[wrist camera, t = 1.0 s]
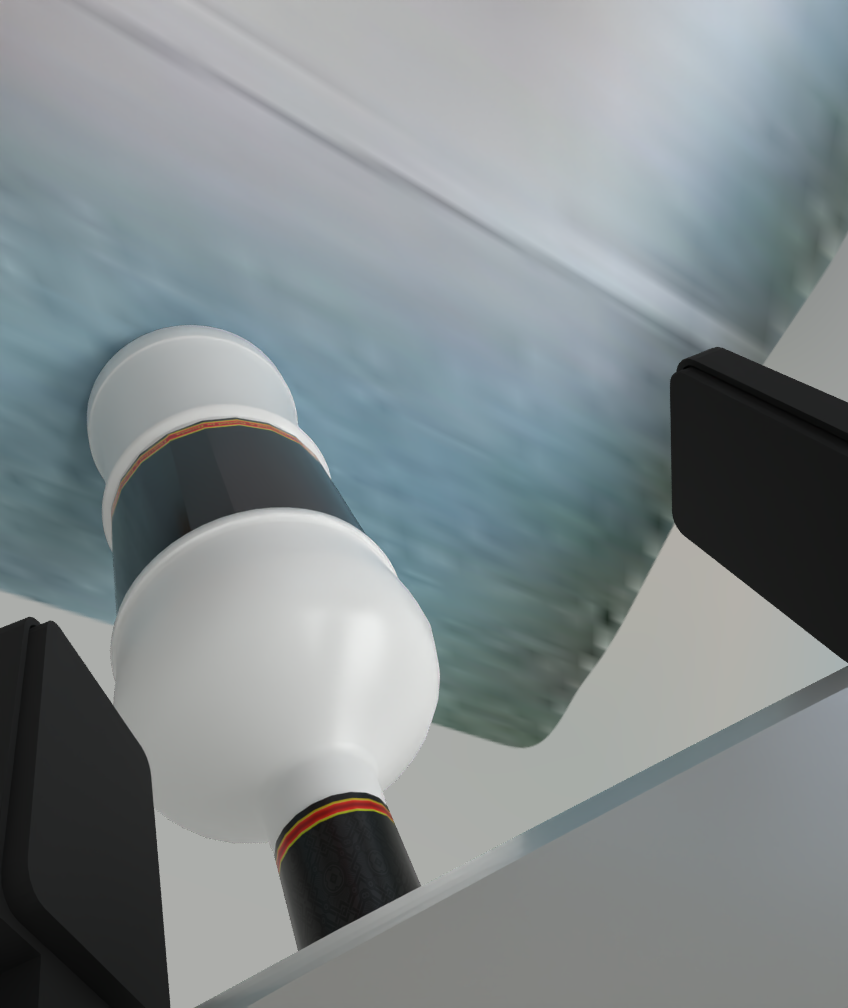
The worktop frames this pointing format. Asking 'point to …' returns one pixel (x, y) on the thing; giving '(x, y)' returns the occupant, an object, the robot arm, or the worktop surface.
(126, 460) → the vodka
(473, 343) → the worktop surface
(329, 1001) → the robot arm
